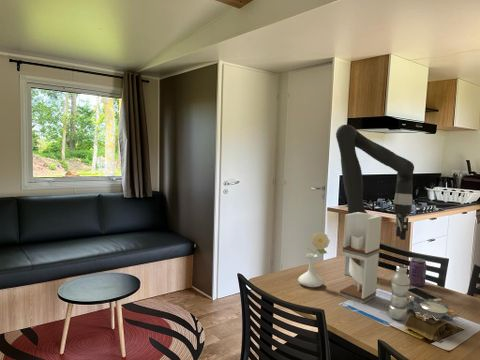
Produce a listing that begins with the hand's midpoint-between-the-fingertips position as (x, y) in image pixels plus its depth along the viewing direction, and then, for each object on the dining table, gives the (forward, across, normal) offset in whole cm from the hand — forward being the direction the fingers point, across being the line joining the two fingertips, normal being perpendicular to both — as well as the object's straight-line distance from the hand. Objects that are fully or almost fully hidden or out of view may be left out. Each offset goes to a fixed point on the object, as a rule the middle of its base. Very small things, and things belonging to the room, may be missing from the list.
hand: (400, 238), depth 163 cm
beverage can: (+22, -5, +10) cm, 25 cm away
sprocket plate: (+24, +24, +6) cm, 35 cm away
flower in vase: (+24, +12, -39) cm, 47 cm away
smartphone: (+24, +7, +9) cm, 26 cm away
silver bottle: (+25, +35, -7) cm, 44 cm away
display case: (+24, +18, -19) cm, 36 cm away
